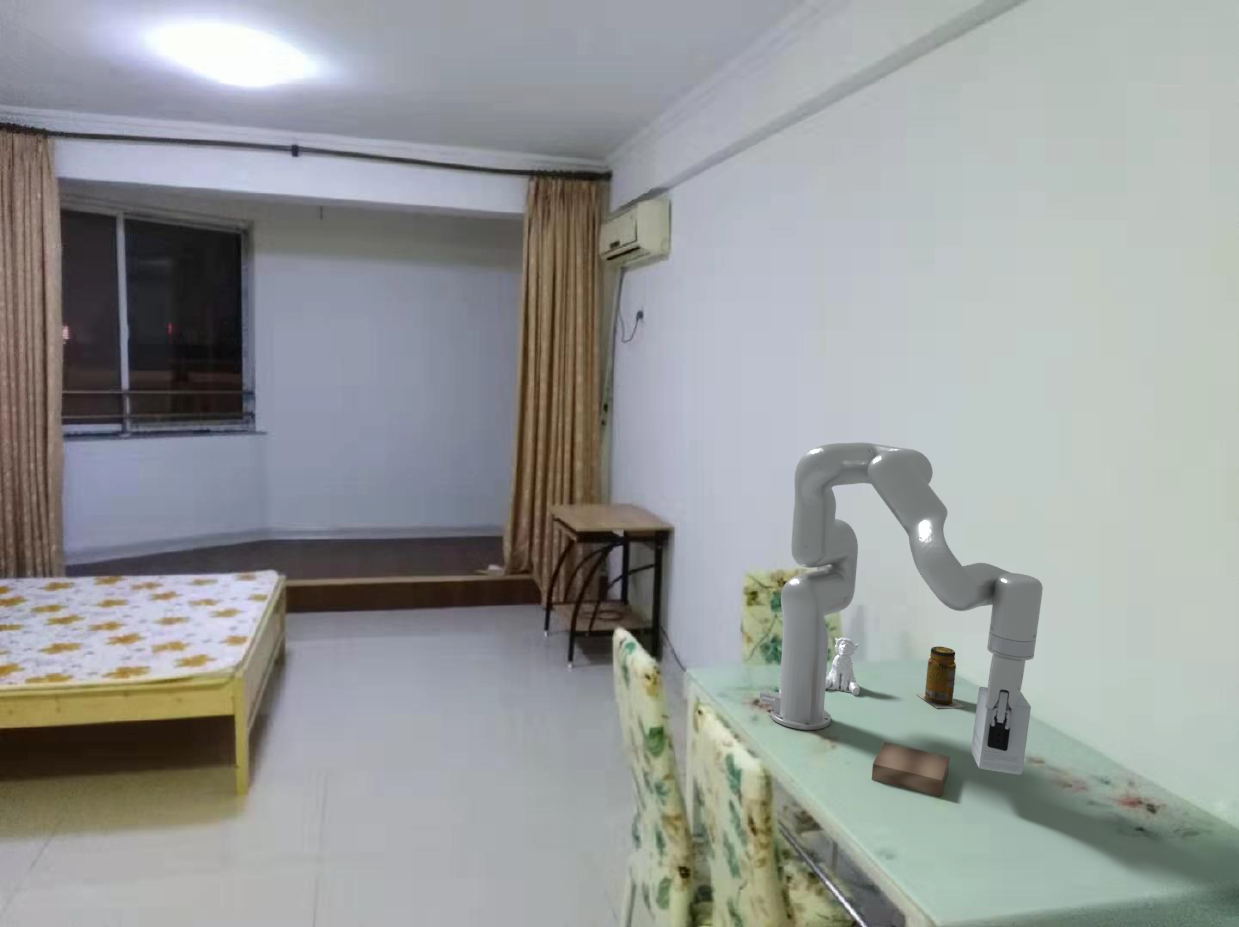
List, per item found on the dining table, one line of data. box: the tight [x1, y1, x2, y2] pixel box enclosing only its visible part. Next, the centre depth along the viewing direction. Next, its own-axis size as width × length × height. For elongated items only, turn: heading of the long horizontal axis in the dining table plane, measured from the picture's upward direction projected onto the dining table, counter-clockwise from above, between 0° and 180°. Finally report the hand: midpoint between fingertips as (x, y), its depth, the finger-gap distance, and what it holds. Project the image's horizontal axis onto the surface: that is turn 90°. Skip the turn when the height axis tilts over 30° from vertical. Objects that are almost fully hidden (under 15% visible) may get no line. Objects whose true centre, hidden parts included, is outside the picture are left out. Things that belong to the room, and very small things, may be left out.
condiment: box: [916, 646, 965, 709], centre depth 201 cm, size 7×8×12 cm
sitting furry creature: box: [825, 637, 861, 697], centre depth 207 cm, size 10×9×12 cm
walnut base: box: [871, 742, 950, 797], centre depth 163 cm, size 12×11×3 cm
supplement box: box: [970, 686, 1032, 776], centre depth 156 cm, size 7×7×13 cm
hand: (999, 738), depth 156 cm, fingers closed on supplement box, 8 cm apart
